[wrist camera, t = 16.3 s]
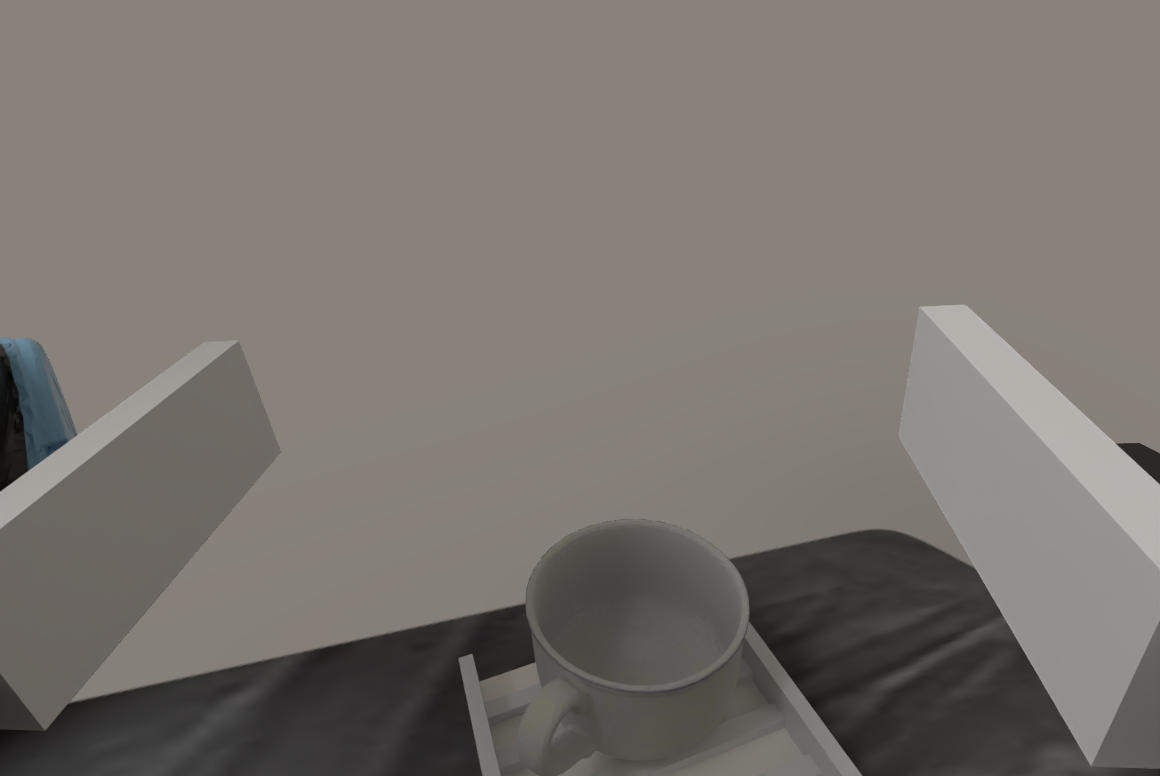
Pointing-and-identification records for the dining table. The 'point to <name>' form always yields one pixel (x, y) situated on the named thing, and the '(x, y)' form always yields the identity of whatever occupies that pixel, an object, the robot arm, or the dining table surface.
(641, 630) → the teacup
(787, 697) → the drying rack
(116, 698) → the dining table surface
